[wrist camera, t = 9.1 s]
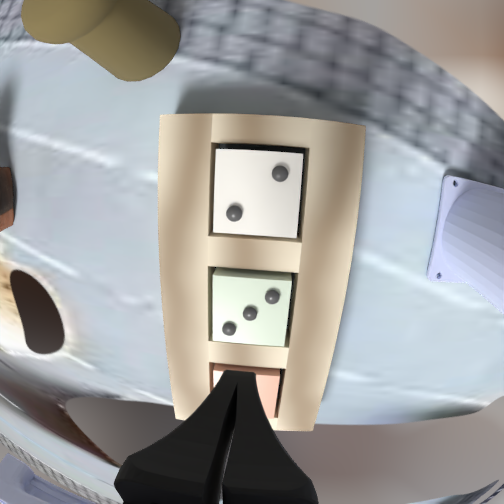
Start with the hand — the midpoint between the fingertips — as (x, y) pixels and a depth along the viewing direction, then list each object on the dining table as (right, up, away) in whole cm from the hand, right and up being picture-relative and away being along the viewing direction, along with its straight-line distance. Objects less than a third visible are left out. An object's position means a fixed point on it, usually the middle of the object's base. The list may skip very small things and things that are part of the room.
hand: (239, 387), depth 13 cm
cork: (-7, +21, +5) cm, 23 cm away
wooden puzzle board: (+1, +3, +9) cm, 10 cm away
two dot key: (+1, +10, +8) cm, 13 cm away
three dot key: (+1, +3, +10) cm, 11 cm away
